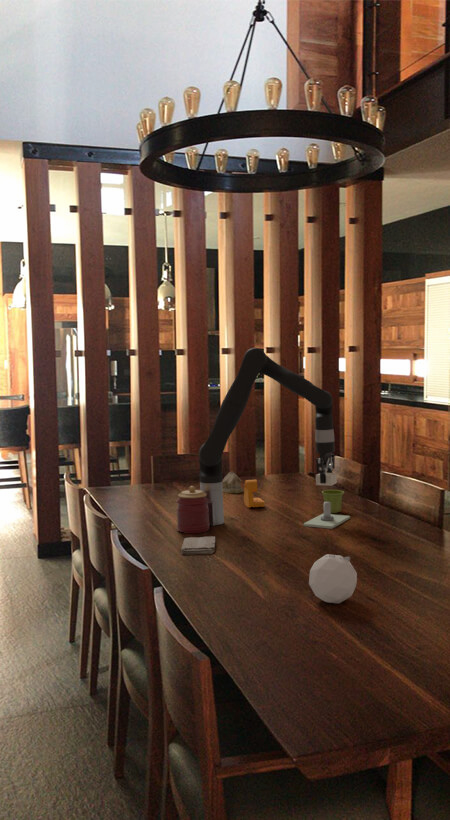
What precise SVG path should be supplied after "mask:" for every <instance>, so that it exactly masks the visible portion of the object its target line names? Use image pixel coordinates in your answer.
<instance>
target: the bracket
mask: <svg viewBox="0 0 450 820" xmlns="http://www.w3.org/2000/svg"><path fill="white" fill-rule="evenodd" d="M255 492H258V480H257V479H246V480H245V479H244V488H243V503H244V506H245V505H246V506H247V507H248V508H249V509H251V507H253V508H264V507H265V500H263V499H262V498H260V497H254V493H255ZM246 506H245V507H246ZM247 507H246V508H247ZM248 508H247V509H248Z"/></svg>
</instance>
